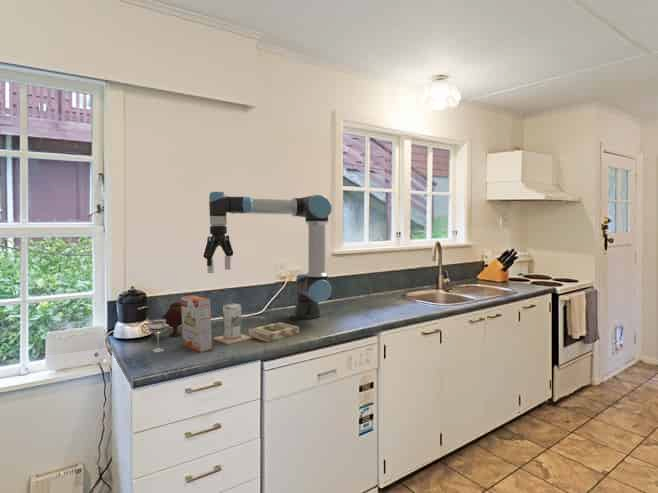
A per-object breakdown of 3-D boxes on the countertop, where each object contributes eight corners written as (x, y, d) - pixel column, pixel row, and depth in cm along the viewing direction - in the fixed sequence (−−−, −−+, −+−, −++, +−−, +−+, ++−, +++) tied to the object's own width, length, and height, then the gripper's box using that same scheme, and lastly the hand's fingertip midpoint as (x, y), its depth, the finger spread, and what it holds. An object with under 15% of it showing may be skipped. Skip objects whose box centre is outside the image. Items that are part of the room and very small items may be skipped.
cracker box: (181, 346, 173) (180, 296, 172) (195, 343, 177) (193, 294, 176) (199, 353, 164) (197, 300, 162) (212, 349, 168) (211, 298, 167)
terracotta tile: (236, 334, 191) (236, 332, 191) (251, 338, 183) (251, 337, 183) (213, 339, 182) (213, 337, 182) (228, 344, 174) (228, 343, 174)
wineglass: (169, 347, 171) (168, 318, 171) (163, 352, 165) (162, 322, 164) (153, 347, 171) (152, 319, 170) (146, 353, 164) (145, 323, 164)
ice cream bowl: (162, 333, 193) (161, 301, 192) (187, 331, 197) (186, 300, 196) (162, 339, 183) (160, 306, 182) (188, 337, 187) (187, 304, 186)
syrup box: (233, 334, 187) (232, 302, 186) (242, 336, 183) (241, 304, 182) (223, 337, 182) (222, 305, 182) (231, 339, 179) (230, 306, 178)
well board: (279, 328, 201) (279, 322, 201) (299, 333, 191) (299, 326, 191) (248, 335, 188) (248, 329, 188) (268, 341, 178) (267, 334, 178)
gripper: (226, 225, 204) (227, 268, 206) (194, 225, 181) (195, 274, 182) (239, 225, 202) (240, 268, 203) (208, 225, 178) (210, 274, 180)
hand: (219, 271), depth 193 cm, fingers open, 13 cm apart
